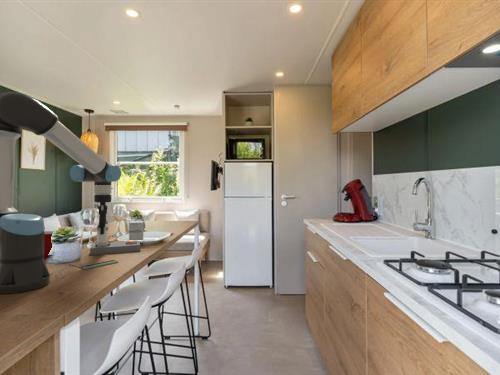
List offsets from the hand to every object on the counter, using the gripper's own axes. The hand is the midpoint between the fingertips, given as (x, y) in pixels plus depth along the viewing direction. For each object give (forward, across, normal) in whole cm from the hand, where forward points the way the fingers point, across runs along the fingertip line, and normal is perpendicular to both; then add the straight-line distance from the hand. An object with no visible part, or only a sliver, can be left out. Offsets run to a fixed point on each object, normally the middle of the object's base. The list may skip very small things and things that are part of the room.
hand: (102, 239), depth 144 cm
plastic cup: (+7, +1, +24) cm, 25 cm away
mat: (+7, -19, +3) cm, 20 cm away
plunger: (+6, 0, -13) cm, 14 cm away
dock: (+7, 0, -6) cm, 9 cm away
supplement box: (+7, +20, -16) cm, 27 cm away
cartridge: (+6, 0, 0) cm, 6 cm away
